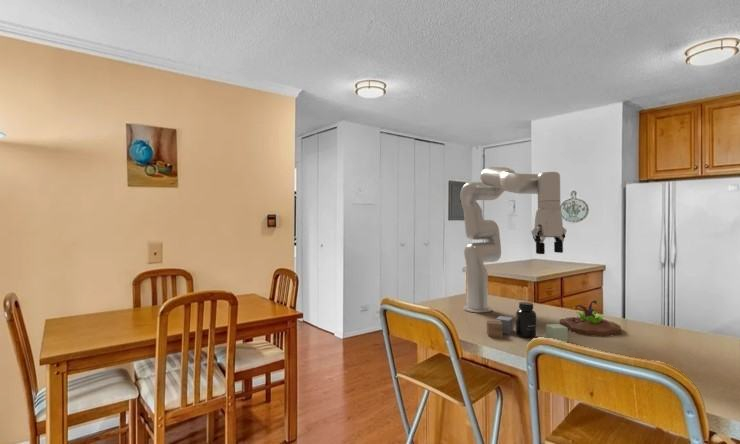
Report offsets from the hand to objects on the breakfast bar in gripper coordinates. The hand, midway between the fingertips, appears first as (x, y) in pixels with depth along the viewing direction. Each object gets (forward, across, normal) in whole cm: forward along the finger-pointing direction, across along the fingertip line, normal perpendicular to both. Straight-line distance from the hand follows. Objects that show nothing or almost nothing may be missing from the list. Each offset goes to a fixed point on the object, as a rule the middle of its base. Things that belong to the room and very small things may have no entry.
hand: (549, 253), depth 142 cm
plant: (+31, -22, +1) cm, 38 cm away
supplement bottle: (+31, +7, -5) cm, 32 cm away
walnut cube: (+30, +16, -11) cm, 36 cm away
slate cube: (+30, +10, -13) cm, 34 cm away
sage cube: (+31, +2, +4) cm, 31 cm away
